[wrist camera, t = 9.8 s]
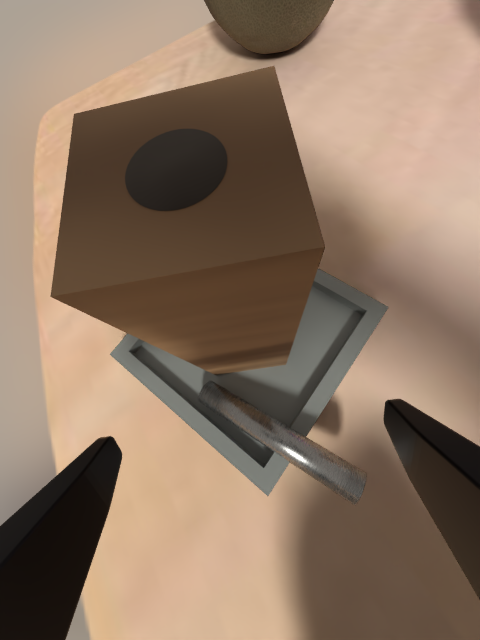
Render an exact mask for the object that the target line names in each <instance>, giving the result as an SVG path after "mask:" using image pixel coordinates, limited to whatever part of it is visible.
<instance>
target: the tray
mask: <svg viewBox="0 0 480 640" xmlns="http://www.w3.org/2000/svg"><path fill="white" fill-rule="evenodd" d="M387 309H388V306H386V305H384V304H382V303H380V302H378V301H377V300H375V299H373V298H371V297H369V296H368V295H366V294H364V293H362V292H360V291H358V290H357V289H355V288H353V287H351V286H349V285H347V284H346V283H344V282H342V281H340V280H338V279H337V278H335V277H333V276H331V275H329V274H327V273H326V272H324V271H322V270H320V269H318V270H317V273H316V276H315V279H314V282H313V285H312V288H311V291H310V294H309V297H308V300H307V303H306V306H305V309H304V312H303V315H302V318H301V321H300V324H299V327H298V330H297V333H296V336H295V339H294V342H293V345H292V348H291V351H290V354H289V357H288V360H287V363H286V365H281V366H274V367H267V368H260V369H253V370H247V371H240V372H233V373H226V374H220V375H214V374H212V373H210V372H208V371H206V370H204V369H202V368H200V367H197V366H195V365H193V364H191V363H189V362H187V361H185V360H183V359H181V358H179V357H176V356H174V355H172V354H170V353H168V352H166V351H164V350H162V349H160V348H158V347H155V346H153V345H151V344H149V343H147V342H145V341H143V340H141V339H139V338H137V337H134V336H132V335H130V334H127V335H126V336H125V337H124V338H123V340H122V341H121V342H120V343H119V344H118V345H117V347H116V348H115V349H114V350H113V351H112V352H111V354H110V355H111V356H112V357H113V358H114V359H116V360H117V361H118V362H119V363H120V364H121V365H122V366H123V367H124V368H126V369H127V370H128V371H129V372H130V373H131V374H132V375H133V376H135V377H136V378H137V379H138V380H139V381H140V382H141V383H142V384H143V385H145V386H146V387H147V388H148V389H149V390H150V391H151V392H152V393H153V394H155V395H156V396H157V397H158V398H159V399H160V400H161V401H162V402H163V403H165V404H166V405H167V406H168V407H169V408H170V409H171V410H172V411H173V412H175V413H176V414H177V415H178V416H179V417H180V418H181V419H182V420H184V421H185V422H186V423H187V424H188V425H189V426H190V427H191V428H192V429H194V430H195V431H196V432H197V433H198V434H199V435H200V436H201V437H202V438H204V439H205V440H206V441H207V442H208V443H209V444H210V445H211V446H212V447H214V448H215V449H216V450H217V451H218V452H219V453H220V454H221V455H223V456H224V457H225V458H226V459H227V460H228V461H229V462H230V463H231V464H233V465H234V466H235V467H236V468H237V469H238V470H239V471H240V472H241V473H243V474H244V475H245V476H246V477H247V478H248V479H249V480H250V481H251V482H253V483H254V484H255V485H256V486H257V487H258V488H259V489H260V490H261V491H263V492H264V493H265V494H266V495H267V496H268V495H269V494H270V492H271V491H272V489H273V488H274V486H275V485H276V483H277V481H278V480H279V478H280V477H281V475H282V474H283V472H284V470H285V469H286V467H287V466H288V464H289V463H290V462H289V461H287V460H286V459H284V458H283V457H281V456H280V455H278V454H277V453H275V452H274V451H272V450H271V449H269V448H268V447H266V446H264V445H263V444H261V443H260V442H258V441H257V440H255V439H254V438H252V437H251V436H249V435H248V434H246V433H245V432H243V431H242V430H240V429H239V428H237V427H236V426H234V425H233V424H231V423H230V422H228V421H227V420H225V419H224V418H222V417H221V416H219V415H218V414H216V413H215V412H213V411H211V410H210V409H208V408H207V407H205V406H204V405H202V404H201V403H199V402H198V396H199V393H200V391H201V389H202V388H203V386H204V385H205V384H206V383H207V382H208V381H213V382H215V383H217V384H218V385H220V386H222V387H223V388H225V389H227V390H228V391H230V392H232V393H233V394H235V395H237V396H238V397H240V398H242V399H243V400H245V401H247V402H248V403H250V404H252V405H253V406H255V407H257V408H258V409H260V410H262V411H263V412H265V413H267V414H268V415H270V416H272V417H273V418H275V419H277V420H278V421H280V422H282V423H283V424H285V425H287V426H288V427H290V428H292V429H293V430H295V431H297V432H298V433H300V434H302V435H303V436H305V437H306V436H307V434H308V433H309V431H310V430H311V428H312V427H313V425H314V423H315V422H316V420H317V419H318V417H319V416H320V414H321V412H322V411H323V409H324V408H325V406H326V405H327V403H328V401H329V400H330V398H331V397H332V395H333V394H334V392H335V390H336V389H337V387H338V386H339V384H340V383H341V381H342V379H343V378H344V376H345V375H346V373H347V372H348V370H349V369H350V367H351V365H352V364H353V362H354V361H355V359H356V358H357V356H358V354H359V353H360V351H361V350H362V348H363V347H364V345H365V343H366V342H367V340H368V339H369V337H370V336H371V334H372V332H373V331H374V329H375V328H376V326H377V325H378V323H379V322H380V320H381V318H382V317H383V315H384V314H385V312H386V311H387Z"/></svg>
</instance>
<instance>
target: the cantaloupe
mask: <svg viewBox="0 0 480 640" xmlns="http://www.w3.org/2000/svg"><path fill="white" fill-rule="evenodd" d="M204 1H205V3H206V5H207V7H208V9H209V11H210V13H211V14H212V16H213V18H214V19H215V20H216V21H217V23H218V24H219V25H220V26H221V27H222V29H223V30H224V31H225V32H226V33H227V34H228V35H229V36H230V37H231V38H232V39H233V40H235V41H236V42H237V43H239V44H241V45H242V46H243V47H244V48H246V49H248V50H250V51H252V52H256V53H260V54H270V53H277V52H282V51H286V50H289V49H291V48H293V47H295V46H297V45H298V44H300V43H301V42H302V41H303V40H304V39H305V38H306V37H307V36H309V35H310V34H311V33H312V32H313V31H314V30H315V29H316V28H317V27H318V25H319V24H320V23H321V21H322V20H323V19H324V17H325V16H326V14H327V13H328V11H329V9H330V7H331V5H332V3H333V1H334V0H204Z"/></svg>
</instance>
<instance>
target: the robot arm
mask: <svg viewBox="0 0 480 640" xmlns="http://www.w3.org/2000/svg"><path fill="white" fill-rule="evenodd" d="M384 424H385V427H386V429H387V431H388V434H389V436H390V438H391V440H392V442H393V444H394V447H395V449H396V451H397V453H398V455H399V458H400V460H401V462H402V464H403V466H404V468H405V471H406V473H407V475H408V477H409V479H410V480H411V482H412V484H413V486H414V488H415V489H416V491H417V493H418V494H419V496H420V498H421V500H422V501H423V503H424V505H425V506H426V508H427V510H428V512H429V513H430V515H431V517H432V519H433V520H434V522H435V524H436V525H437V527H438V529H439V531H440V532H441V534H442V536H443V537H444V539H445V541H446V543H447V544H448V546H449V548H450V549H451V551H452V553H453V555H454V556H455V558H456V560H457V562H458V563H459V565H460V567H461V568H462V570H463V572H464V574H465V575H466V577H467V579H468V580H469V582H470V584H471V586H472V587H473V589H474V591H475V592H476V594H477V596H478V598H479V599H480V446H478V445H476V444H475V443H473V442H471V441H470V440H468V439H466V438H465V437H463V436H461V435H460V434H458V433H456V432H455V431H453V430H452V429H450V428H448V427H447V426H445V425H443V424H442V423H440V422H438V421H437V420H435V419H433V418H432V417H430V416H428V415H427V414H425V413H423V412H422V411H420V410H418V409H417V408H415V407H413V406H412V405H410V404H408V403H407V402H405V401H403V400H401V399H393V400H387V401H386V402H385V409H384ZM121 460H122V452H121V450H120V448H119V446H118V445H117V443H116V441H115V439H114V438H113V437H111V436H108V437H101V438H99V439H97V440H96V441H95V442H94V443H93V444H92V445H90V446H89V447H88V448H87V449H86V450H85V451H84V452H83V453H81V454H80V455H79V456H78V457H77V458H76V459H75V460H74V461H73V462H71V463H70V464H69V465H68V466H67V467H66V468H65V469H64V470H62V471H61V472H60V473H59V474H58V475H57V476H56V477H55V478H54V479H53V480H51V481H50V482H49V483H48V484H47V485H46V486H45V487H43V488H42V489H41V490H40V491H39V492H38V493H37V494H36V495H35V496H34V497H32V498H31V499H30V500H29V501H28V502H27V503H26V504H24V505H23V506H22V507H21V508H20V509H19V510H18V511H17V512H16V513H14V515H12V516H11V517H10V518H9V519H8V520H7V521H5V522H4V523H3V524H2V525H1V526H0V640H65V639H66V637H67V634H68V631H69V628H70V625H71V622H72V619H73V616H74V613H75V610H76V607H77V604H78V601H79V598H80V595H81V592H82V589H83V586H84V583H85V580H86V578H87V575H88V572H89V569H90V566H91V563H92V560H93V557H94V554H95V551H96V548H97V545H98V542H99V539H100V536H101V533H102V530H103V527H104V524H105V521H106V518H107V515H108V512H109V509H110V505H111V501H112V497H113V493H114V489H115V485H116V481H117V477H118V473H119V469H120V465H121Z"/></svg>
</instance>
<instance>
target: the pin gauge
mask: <svg viewBox="0 0 480 640" xmlns="http://www.w3.org/2000/svg"><path fill="white" fill-rule="evenodd" d="M198 402H199V403H201V404H202V405H204V406H205V407H207V408H208V409H210V410H211V411H213V412H215V413H216V414H218V415H219V416H221V417H222V418H224V419H225V420H227V421H228V422H230V423H231V424H233V425H234V426H236V427H237V428H239V429H240V430H242V431H243V432H245V433H246V434H248V435H249V436H251V437H252V438H254V439H255V440H257V441H258V442H260V443H261V444H263V445H264V446H266V447H268V448H269V449H271V450H272V451H274V452H275V453H277V454H278V455H280V456H281V457H283V458H284V459H286V460H287V461H289V462H290V463H292V464H293V465H295V466H296V467H298V468H299V469H301V470H302V471H304V472H305V473H307V474H308V475H310V476H311V477H313V478H314V479H316V480H317V481H319V482H320V483H322V484H324V485H325V486H327V487H328V488H330V489H331V490H333V491H334V492H336V493H337V494H339V495H340V496H342V497H343V498H345V499H346V500H348V501H349V502H351V503H352V504H354V505H355V504H357V502H358V501H359V499H360V497H361V495H362V492H363V489H364V486H365V483H366V473H365V472H364V471H362V470H360V469H359V468H357V467H355V466H354V465H352V464H350V463H349V462H347V461H345V460H343V459H342V458H340V457H338V456H337V455H335V454H333V453H332V452H330V451H328V450H327V449H325V448H323V447H322V446H320V445H318V444H317V443H315V442H313V441H312V440H310V439H308V438H307V437H305V436H303V435H302V434H300V433H298V432H297V431H295V430H293V429H292V428H290V427H288V426H287V425H285V424H283V423H282V422H280V421H278V420H277V419H275V418H273V417H272V416H270V415H268V414H267V413H265V412H263V411H262V410H260V409H258V408H257V407H255V406H253V405H252V404H250V403H248V402H247V401H245V400H243V399H242V398H240V397H238V396H237V395H235V394H233V393H232V392H230V391H228V390H227V389H225V388H223V387H222V386H220V385H218V384H217V383H215V382H213V381H208V382H207V383H206V384H205V385H204V386H203V388H202V389H201V391H200V393H199V396H198Z"/></svg>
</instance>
